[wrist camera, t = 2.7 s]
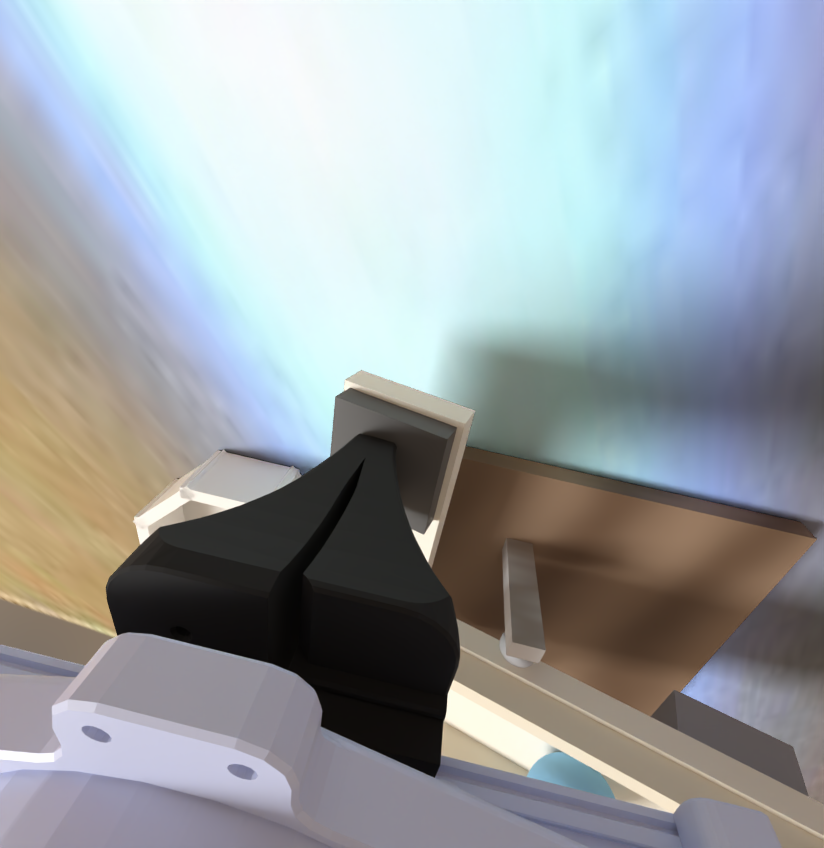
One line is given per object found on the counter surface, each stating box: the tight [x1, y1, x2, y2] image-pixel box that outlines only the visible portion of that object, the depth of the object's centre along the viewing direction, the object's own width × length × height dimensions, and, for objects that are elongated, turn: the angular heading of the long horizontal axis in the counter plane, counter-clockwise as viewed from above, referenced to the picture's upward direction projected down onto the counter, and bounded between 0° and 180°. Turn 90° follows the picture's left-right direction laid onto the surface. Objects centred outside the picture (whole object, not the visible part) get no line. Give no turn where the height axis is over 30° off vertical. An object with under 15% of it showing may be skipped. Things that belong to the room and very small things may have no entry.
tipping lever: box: [330, 370, 824, 848], centre depth 15 cm, size 18×15×4 cm
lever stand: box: [432, 446, 817, 717], centre depth 20 cm, size 18×15×6 cm
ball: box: [527, 752, 615, 799], centre depth 15 cm, size 3×3×3 cm
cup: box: [133, 450, 302, 545], centre depth 22 cm, size 10×10×3 cm
